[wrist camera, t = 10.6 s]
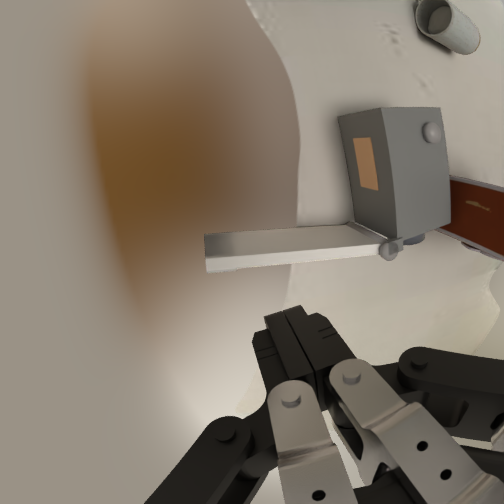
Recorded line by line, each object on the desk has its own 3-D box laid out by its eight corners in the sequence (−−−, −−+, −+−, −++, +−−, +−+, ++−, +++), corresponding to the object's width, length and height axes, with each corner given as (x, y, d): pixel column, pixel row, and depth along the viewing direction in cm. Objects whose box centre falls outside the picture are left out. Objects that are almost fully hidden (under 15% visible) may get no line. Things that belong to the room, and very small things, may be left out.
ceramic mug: (454, 60, 25) (490, 54, 18) (419, 41, 24) (456, 28, 16) (442, 10, 22) (472, -1, 14) (406, -11, 20) (437, -28, 13)
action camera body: (322, 118, 26) (368, 107, 18) (393, 112, 27) (445, 107, 18) (343, 239, 31) (387, 267, 22) (406, 219, 32) (455, 239, 23)
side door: (205, 247, 28) (207, 276, 21) (203, 231, 27) (205, 255, 21) (355, 235, 30) (391, 257, 24) (356, 221, 30) (393, 239, 23)
